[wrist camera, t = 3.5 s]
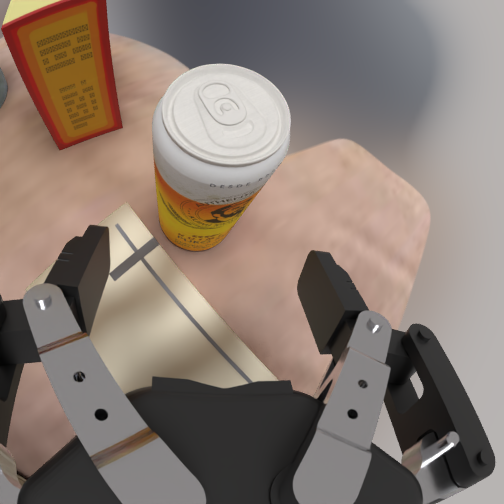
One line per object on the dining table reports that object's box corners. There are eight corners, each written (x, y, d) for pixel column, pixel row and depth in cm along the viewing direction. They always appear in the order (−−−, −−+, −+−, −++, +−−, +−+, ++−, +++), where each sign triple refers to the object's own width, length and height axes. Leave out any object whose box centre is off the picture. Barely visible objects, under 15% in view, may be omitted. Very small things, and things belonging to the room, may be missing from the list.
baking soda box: (54, 84, 24) (21, -30, 9) (109, 65, 26) (100, -56, 11) (59, 150, 23) (-1, 24, 8) (122, 127, 25) (105, -15, 10)
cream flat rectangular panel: (35, 291, 21) (24, 289, 19) (129, 209, 24) (126, 201, 22) (222, 490, 21) (227, 502, 19) (310, 415, 25) (320, 421, 23)
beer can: (179, 265, 24) (190, 200, 10) (147, 201, 25) (131, 79, 10) (243, 233, 26) (325, 146, 12) (210, 173, 26) (255, 48, 12)
